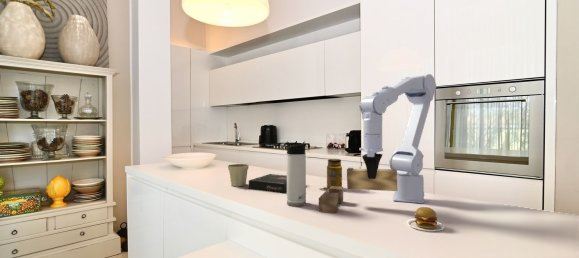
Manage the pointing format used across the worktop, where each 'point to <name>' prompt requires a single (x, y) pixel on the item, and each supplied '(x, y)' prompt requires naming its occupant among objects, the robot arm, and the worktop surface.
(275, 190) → the portable cd player
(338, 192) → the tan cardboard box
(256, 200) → the worktop surface
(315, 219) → the worktop surface
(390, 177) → the rail
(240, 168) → the flower pot
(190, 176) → the worktop surface
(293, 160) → the travel mug
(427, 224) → the hamburger
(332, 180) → the condiment
